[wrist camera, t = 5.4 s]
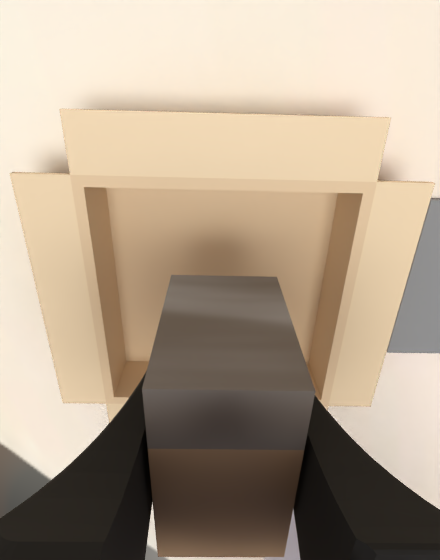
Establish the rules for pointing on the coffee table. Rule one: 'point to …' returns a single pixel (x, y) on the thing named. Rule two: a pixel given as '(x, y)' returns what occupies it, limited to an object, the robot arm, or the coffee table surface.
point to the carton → (218, 237)
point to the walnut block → (225, 417)
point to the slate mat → (421, 293)
